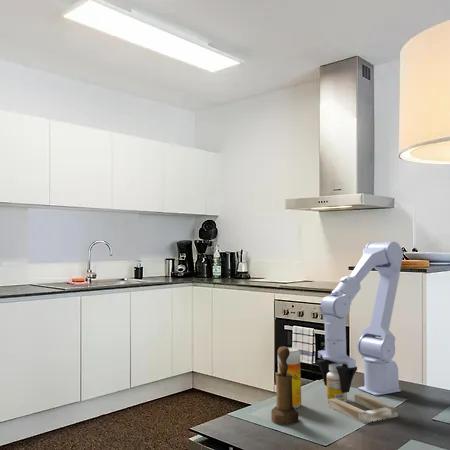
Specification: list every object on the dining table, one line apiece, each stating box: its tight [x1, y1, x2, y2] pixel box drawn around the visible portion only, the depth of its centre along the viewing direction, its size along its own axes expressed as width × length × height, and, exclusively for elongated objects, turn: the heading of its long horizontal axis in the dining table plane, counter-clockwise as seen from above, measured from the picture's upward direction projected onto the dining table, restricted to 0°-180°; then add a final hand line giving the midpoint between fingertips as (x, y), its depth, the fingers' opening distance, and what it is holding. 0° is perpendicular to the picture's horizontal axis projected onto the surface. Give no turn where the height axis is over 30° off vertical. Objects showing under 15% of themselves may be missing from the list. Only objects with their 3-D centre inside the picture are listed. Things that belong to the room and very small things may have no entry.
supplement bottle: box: [326, 363, 348, 403], centre depth 136 cm, size 5×5×10 cm
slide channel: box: [328, 393, 398, 424], centre depth 126 cm, size 10×14×2 cm
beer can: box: [277, 347, 302, 409], centre depth 132 cm, size 6×6×15 cm
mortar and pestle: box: [271, 345, 299, 426], centre depth 121 cm, size 7×6×18 cm
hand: (336, 388), depth 136 cm, fingers open, 7 cm apart
